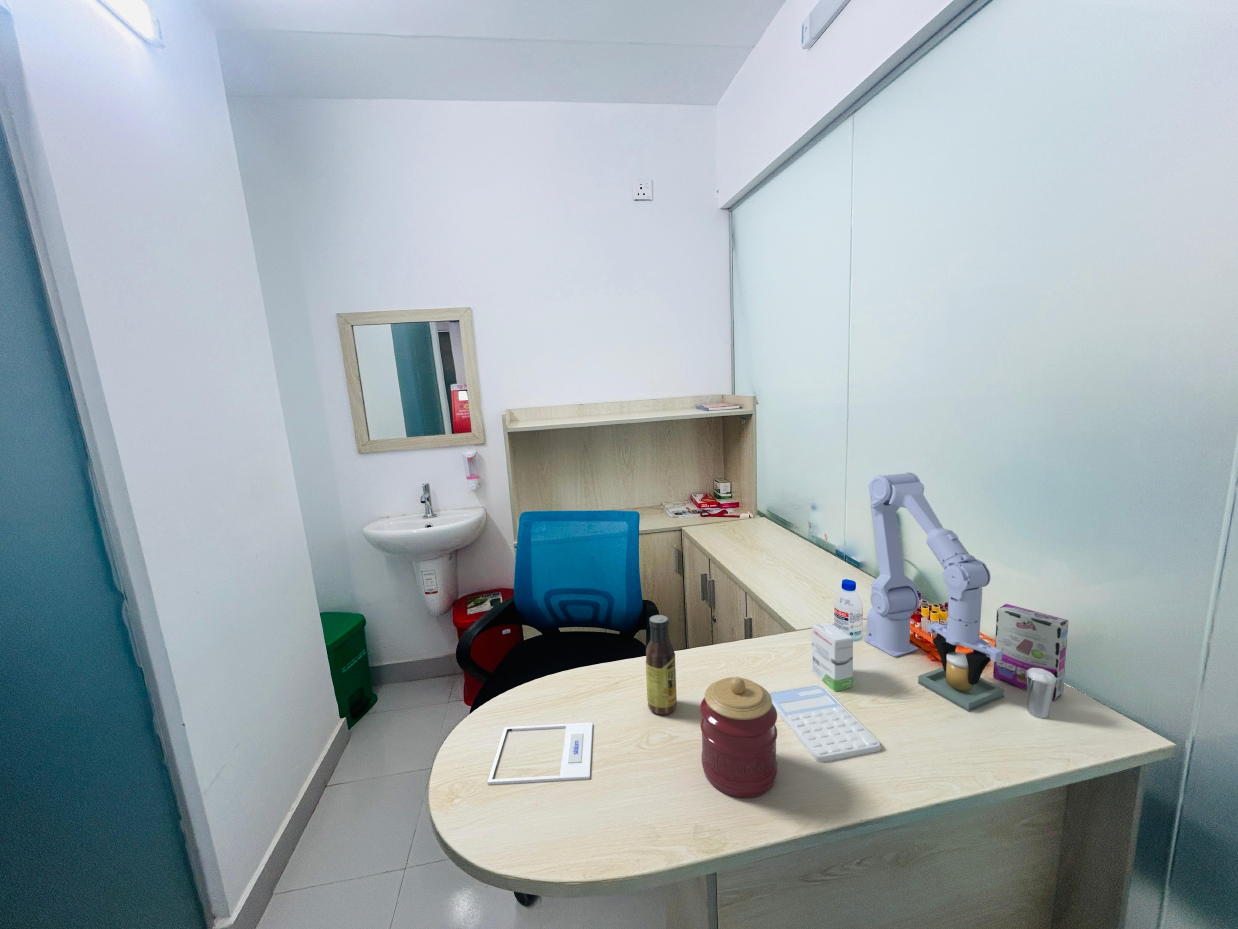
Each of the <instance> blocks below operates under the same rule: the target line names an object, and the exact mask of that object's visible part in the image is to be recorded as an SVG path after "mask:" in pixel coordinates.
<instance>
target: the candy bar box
mask: <svg viewBox="0 0 1238 929" xmlns="http://www.w3.org/2000/svg"><path fill="white" fill-rule="evenodd" d="M1068 632H1069V620H1068V619H1065V618H1061V617H1058V616H1054V615H1050V614H1046V613H1043V612H1039V611H1035V610H1031V609H1028V608H1024V607H1021V606H1017V605H1012V604H1008V603H1004V604H1003V605H1001V606H1000V607H999V608H997V609H996V621H995V640H994V647H995V648H997V649H999V650H1001V651H1002V660H1000V661H997V662H994V661H993V669H992V670H993V675H992V677H993V678H994V679H995V680H999V681H1001V682H1003V683H1005V684H1008V685H1011V686H1014V687H1016V688H1019V689H1021V690H1024V691H1027V677H1026V672H1027V670H1028V669H1030V668H1041V669H1044V670H1046V671H1049V672H1051V673H1052V674H1053V675H1054V676H1055V677H1056V678H1057V677H1058V676H1059V675H1060V673H1061V672H1062V671H1063V673H1062V674H1061V675H1060V676H1059V678H1058V679H1057V680H1056V685H1055V689H1054V693H1053V698H1052V702H1053V701H1054V702H1055V701H1057V699H1058V698H1060V696H1062V695H1063V693H1064V686H1065V672H1066V671H1065V670H1066V658H1067V655H1066V654H1067V645H1068Z"/></svg>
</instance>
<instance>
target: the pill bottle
mask: <svg viewBox="0 0 1238 929" xmlns="http://www.w3.org/2000/svg"><path fill="white" fill-rule="evenodd" d="M966 654H967V653H964V652H960V651H955V652H949V653H947V658H946V660H947V666H946V683H947V684H948V685H949V686H951V687H953V688H955V689H959V690H971V689H972V687H973V685H971V684H969V682H968V673H969V669H968V662H967V658H966Z"/></svg>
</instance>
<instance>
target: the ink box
mask: <svg viewBox="0 0 1238 929" xmlns="http://www.w3.org/2000/svg"><path fill="white" fill-rule="evenodd" d="M811 672H812V674H814V675H815V676H816V677H817V678H819V679H820V680H821V681H822V682H823V683H825V684H826V685H827V686H828V687H829V688H830V689H831V690H833V691H834V692H838V691H843V690H847V689H850V688H853V687H854V685H853V684H854V677H853V676H854V638H853V637H851V636H850V635H849V634H847V633H845V632H844V631H843V630H841V629H840V628H838V627H837V626H835V625H834V624H832V623H831V622H824V623H818V624H817V623H816V624H812V626H811Z"/></svg>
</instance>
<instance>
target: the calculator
mask: <svg viewBox="0 0 1238 929" xmlns="http://www.w3.org/2000/svg"><path fill="white" fill-rule="evenodd" d="M768 693H769V694H770V696H771V699H772V704H773V705H774V707H775V708H776V711H777V715H778V716H779V717H780V718H781V719H782V721H783V722H784V723H785V724H786V726H787V727H788V728H789V730H791V732H792V733H793V734H794V736H795V737H796V738H797V739H798V741H799V742H800V743H801V744H802V746H803V748H804V749H806V750H807V753H809V754H810V756H811V757H812V758H813V760H815V761H816V762H818V763H826V762H831V761H836V760H841V759H846V758H850V757H851V758H852V757H855V756H861V755H866V754H870V753H875V752H879V751H881V749H882V746H881V742H880V741H879V740H878V739H877V738H876V736H874V735H873V734H872V733H871V732H870V731H869V730H868V729H867V728H866V727H865V726H864V725H863V724H862V723H861V722H860V721H859V720H857V718H856V717H855V716H854V715H853V714H852V713H851V712H850V711H849V710H847V709H846V707H845V706H844V705H843V704H842V703H841V702H840V701H839V700H838V699H837V698H835V697H834V696H833V695H832V694H831V692H829V691H828V689H826V688H825V687H824V686H823V685H820V684H815V685H813V684H812V685H807V686H802V687H796V688H789V689H783V690H777V691H772V692H768Z"/></svg>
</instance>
